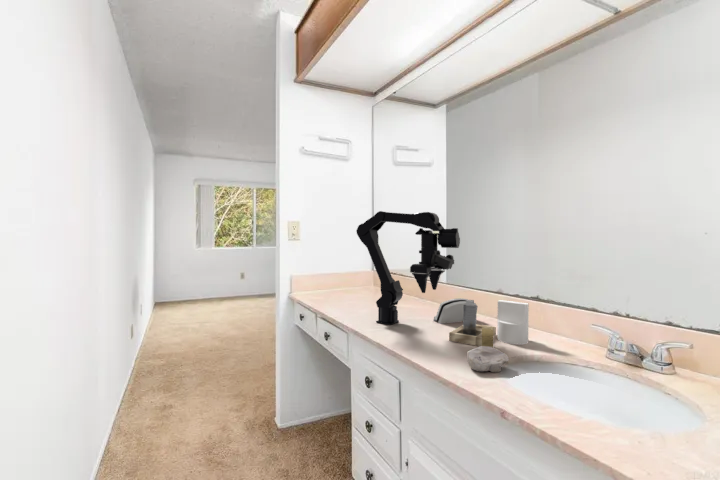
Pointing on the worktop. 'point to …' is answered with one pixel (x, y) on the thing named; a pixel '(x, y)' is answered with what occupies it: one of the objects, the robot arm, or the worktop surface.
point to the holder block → (468, 336)
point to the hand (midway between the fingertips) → (429, 291)
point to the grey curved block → (451, 311)
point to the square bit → (487, 336)
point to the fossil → (486, 359)
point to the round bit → (469, 318)
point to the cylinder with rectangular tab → (512, 322)
